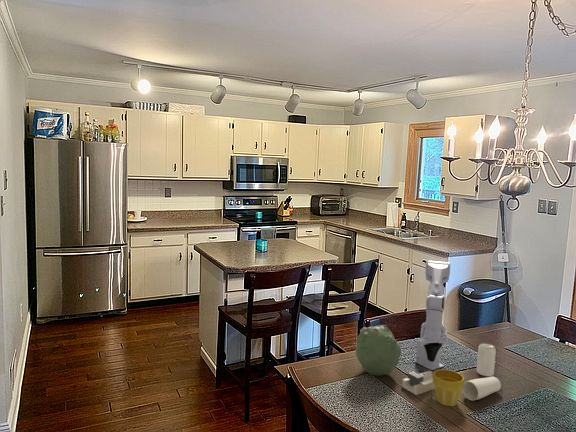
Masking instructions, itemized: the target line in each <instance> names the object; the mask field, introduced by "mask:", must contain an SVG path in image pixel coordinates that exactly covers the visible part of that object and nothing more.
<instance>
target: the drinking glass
mask: <svg viewBox="0 0 576 432" xmlns="http://www.w3.org/2000/svg"><path fill="white" fill-rule="evenodd" d="M501 387H502V384H501V381H500V380H499V379H498V377H495V376H494V375H493V376H491V377H481V378H474V379H470V380H466V381H464V387H463V389H462V392H463V395H464V397H466V399H467V400H468V401H472V402H473V401H477V400H481V399H483V398H487V396H490V395H491V394H493V393H496V392H498V391H500V389H502V388H501Z"/></svg>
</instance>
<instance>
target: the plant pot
mask: <svg viewBox="0 0 576 432" xmlns="http://www.w3.org/2000/svg"><path fill="white" fill-rule="evenodd" d="M432 377H433V383H434V385H435V389H434V390H435V395H436V396H435V397H436V401H437V402H438V403H439V404H441V405H442V406H447V407H454V406H456V405H457V404H458V399H459V398H460V394H461V391H463V387H464V383H465V377H464V375H462V374H461V373H459V372H457V371H455V370H451V369H445V368H442V369H441V368H438V369H435V370H434V371H433V374H432Z"/></svg>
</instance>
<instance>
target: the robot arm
mask: <svg viewBox="0 0 576 432" xmlns="http://www.w3.org/2000/svg"><path fill="white" fill-rule="evenodd" d="M424 273H425V279H426V281H429V283H430V284H429V285H428V294H427V295H426V302H425V309H426V313H425V315H426V317H425V318H426V320H425V322H423V323H422V324H421V328H420V338H419V339H417V344H416V345H417V346H416V349H415V350H416V352H415V360H414V363H417V364H418V365H420V366H422V367H425V368H426V369H428V370H429V371H433V370H434V371H435V370H439V369H441V368H443V367H445V364H442V363H441V353H442V352H441V351H442V347H443V346H445V345H446V341H447V340H448V334H446V328H445V326H444V324H443V315H444V314H443V313H444V311H445V306H446V304H445V303H446V297H445V286H444V284H445V283H448V282H449V280H450V275H451V263H450V262H449V261H441V260H440V261H439V260H429V259H427V260H426V261H425V271H424Z"/></svg>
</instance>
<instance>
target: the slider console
mask: <svg viewBox="0 0 576 432" xmlns="http://www.w3.org/2000/svg"><path fill="white" fill-rule="evenodd" d="M433 373H434V371H432V370H426V371H424V372H420V373H419V374H420V375H422V376H423V382H421V383H419V384H417V385H414V387H413V386H411V385H410V379H408V378H407V377H405V378H403V379H402V382H401V384H402V385H401V387H402V388H403V389H405V390H407V391H409V392H410V393H412V394H413V395H415V396H419V395H421V394H424V393H426V392H429V391H431V390H435V385H434V383H433Z"/></svg>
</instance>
